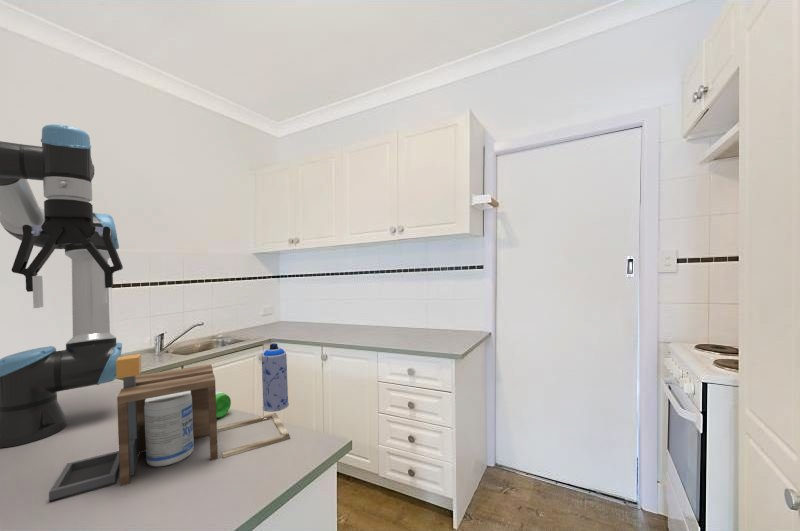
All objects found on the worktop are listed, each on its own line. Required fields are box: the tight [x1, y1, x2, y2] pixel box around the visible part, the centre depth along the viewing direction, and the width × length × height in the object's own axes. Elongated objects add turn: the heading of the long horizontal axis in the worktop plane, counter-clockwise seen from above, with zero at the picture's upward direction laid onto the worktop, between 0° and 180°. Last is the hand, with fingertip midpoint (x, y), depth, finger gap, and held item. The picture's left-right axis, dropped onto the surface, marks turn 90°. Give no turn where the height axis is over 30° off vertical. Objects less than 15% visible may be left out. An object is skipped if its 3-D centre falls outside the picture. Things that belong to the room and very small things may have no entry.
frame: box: [217, 412, 291, 459], centre depth 93 cm, size 17×16×1 cm
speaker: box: [216, 390, 232, 419], centre depth 107 cm, size 18×7×8 cm, turn 67°
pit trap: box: [48, 450, 120, 503], centre depth 75 cm, size 12×10×2 cm
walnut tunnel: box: [116, 364, 219, 487], centre depth 83 cm, size 16×18×18 cm
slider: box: [116, 353, 142, 476], centre depth 80 cm, size 12×4×24 cm, turn 32°
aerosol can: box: [261, 343, 290, 413], centre depth 111 cm, size 8×8×20 cm
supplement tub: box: [144, 391, 195, 467], centre depth 83 cm, size 10×10×15 cm
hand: (72, 305), depth 74 cm, fingers open, 10 cm apart
